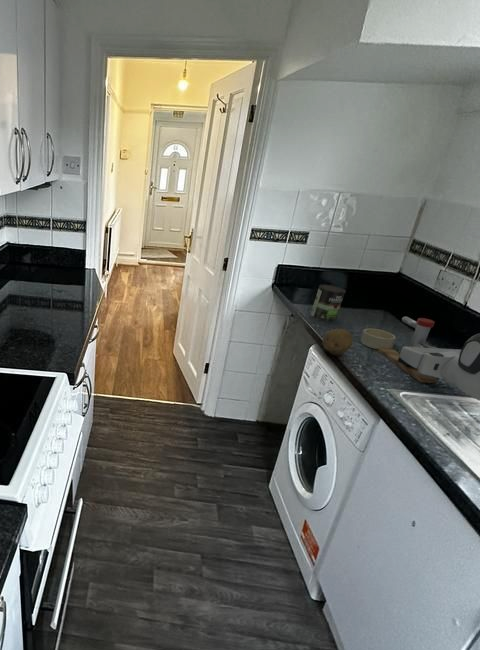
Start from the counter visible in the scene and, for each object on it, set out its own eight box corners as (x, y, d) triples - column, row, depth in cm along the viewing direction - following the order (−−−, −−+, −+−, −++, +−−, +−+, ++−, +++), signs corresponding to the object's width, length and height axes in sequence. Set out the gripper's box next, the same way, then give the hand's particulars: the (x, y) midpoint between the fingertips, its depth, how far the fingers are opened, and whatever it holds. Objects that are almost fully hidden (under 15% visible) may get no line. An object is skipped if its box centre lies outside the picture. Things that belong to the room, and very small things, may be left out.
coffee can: (340, 323, 179) (351, 292, 172) (320, 323, 176) (330, 292, 170) (324, 313, 188) (334, 284, 182) (304, 314, 186) (313, 284, 179)
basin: (390, 344, 159) (395, 332, 157) (391, 354, 151) (396, 341, 149) (360, 338, 163) (364, 326, 161) (359, 346, 155) (363, 334, 153)
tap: (420, 367, 138) (438, 323, 131) (406, 367, 138) (424, 322, 131) (397, 352, 149) (413, 310, 142) (384, 351, 149) (400, 309, 142)
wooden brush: (435, 383, 132) (437, 379, 131) (420, 382, 132) (421, 378, 131) (391, 352, 152) (392, 348, 151) (377, 351, 152) (378, 347, 151)
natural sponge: (331, 361, 142) (340, 335, 138) (312, 349, 150) (321, 324, 146) (352, 359, 145) (362, 334, 140) (333, 348, 152) (341, 323, 148)
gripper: (492, 358, 121) (455, 339, 134) (423, 354, 121) (393, 335, 134) (483, 377, 124) (448, 356, 136) (415, 373, 124) (386, 353, 136)
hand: (420, 346), depth 135 cm, fingers closed
